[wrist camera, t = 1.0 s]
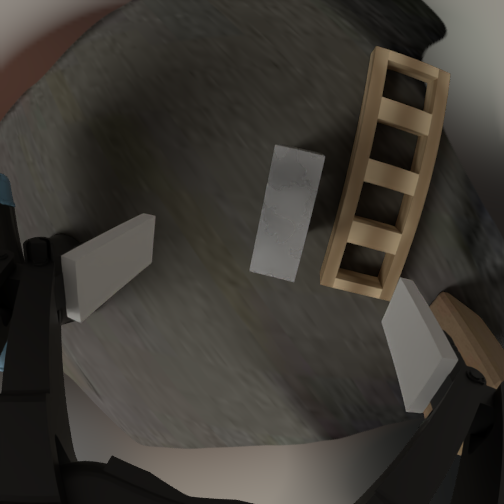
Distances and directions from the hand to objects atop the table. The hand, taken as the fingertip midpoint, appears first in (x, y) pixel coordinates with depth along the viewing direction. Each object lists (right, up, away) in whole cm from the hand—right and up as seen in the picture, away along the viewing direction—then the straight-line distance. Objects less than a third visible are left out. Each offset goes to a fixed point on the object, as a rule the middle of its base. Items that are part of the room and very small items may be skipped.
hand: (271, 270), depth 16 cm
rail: (+15, +10, +18) cm, 25 cm away
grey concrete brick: (+4, +8, +21) cm, 23 cm away
